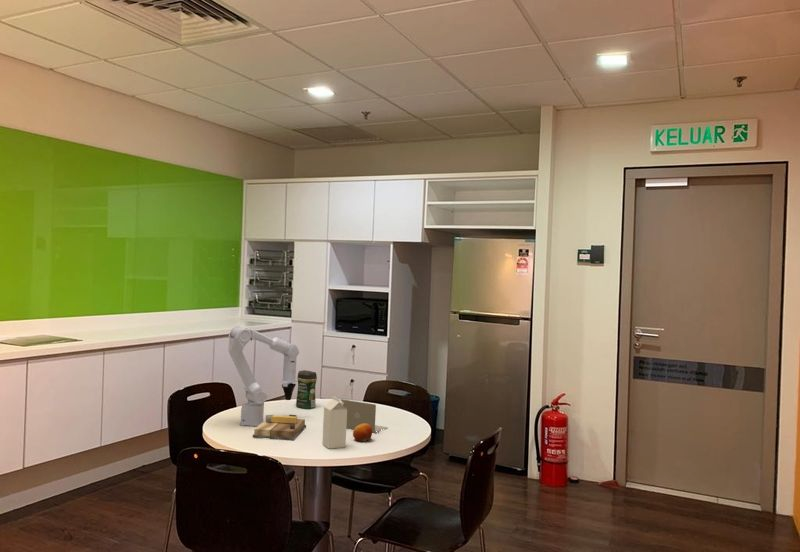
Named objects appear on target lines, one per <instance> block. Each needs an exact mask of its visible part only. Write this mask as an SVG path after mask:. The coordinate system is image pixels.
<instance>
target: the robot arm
mask: <svg viewBox="0 0 800 552" xmlns="http://www.w3.org/2000/svg"><path fill="white" fill-rule="evenodd" d="M228 340H229V342H228V354H229V356H230V358H231V359H232V361H233V364H234V366H235V368H236V371H237V372H238V374H239V377H240V378H241V380H242V383H243V385H244V391H245V398H246V399H247V403H245V402H244V403H243V404H242V405H241V409H240V424H239V425H240V426H247V427H248V426H249V427H250V426H251V427H252V426H253V427H258V426H259V425H260V424H261V423H263V422H264V421H265V420H264V414H265V413H264V410H265V402H266V401H267V393H266V392H265V391H264V390H263V389H262V387H261V386H260V385H259V383H258V382H257V379H256V378H255V376H254V374H253V371H252V369H251V368H250V366H249V363H248V361H247V359H246V357H245V355H244V352H243V350H244V347H245V346H247V344H248V343H249V342H250V341H257V342H260V343H263V344H266V345H268V346H269V349H270V350H273V351H275V352H277V353H280V354H282V355H283V367H282V380H281V382H282V384H281V387H282V390H283V393H284V394H283V395H284V399H285V401H291V400H292V396H293V394H294V389H295V387H296V386H297V384H296V383H298V380H297V378H296V372H297V357H298V356H299V354H300V350H299V347H298V346H297V345H296V344H292V343H291V342H290V341H286V340H284V339H282V337H280V336H278V337H276V336H275V337H272V338H271V337H270V336H268V335H265V334H263V333H261V332H260V331H257V330H254V329H249V328H245V327H242V326H239V325H238V326H234V327H232V329H231V330H230V332H229V334H228Z"/></svg>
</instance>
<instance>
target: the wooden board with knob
mask: <svg viewBox="0 0 800 552" xmlns="http://www.w3.org/2000/svg"><path fill="white" fill-rule="evenodd" d="M288 416H295V417H298V416H297V415H296V414H289V415H288ZM263 421H264V422H263V423H261V424H260V425H259V426H255V428H254V432H253V433H254V434H252V437H254V438H253V439H262V438H270V439H269V440H278V439H279V441H280V440H281V441H282V440H283V441H295V440H296V439H297V438H298V437H299V435H300V434H302V432H303V431H304V430H305V429H306V428H307V424H306V419H304V418H303V419H301V418H297V422H296V424H294V423H276V422H266V419H265V420H263Z"/></svg>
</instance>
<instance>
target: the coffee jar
mask: <svg viewBox="0 0 800 552" xmlns="http://www.w3.org/2000/svg"><path fill="white" fill-rule="evenodd" d="M317 378H318V377H317V373H316V372H315V371H311V370H305V369H304V370H303V369H302V370H299V371H298V373H297V378H296V380H298V382H297V393H296V402H295V406H296V407H297V408H300V409H304V410H305V409H306V410H308V409H309V410H311V409H312V410H313V409H315V407H316V384H317V381H318V379H317Z"/></svg>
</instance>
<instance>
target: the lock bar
mask: <svg viewBox="0 0 800 552" xmlns="http://www.w3.org/2000/svg"><path fill="white" fill-rule="evenodd" d="M297 419H298V416H296V417H295V416H289V415H274V414H267V415H265V420H266V422H276V423H294V424H296V422H297Z"/></svg>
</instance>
